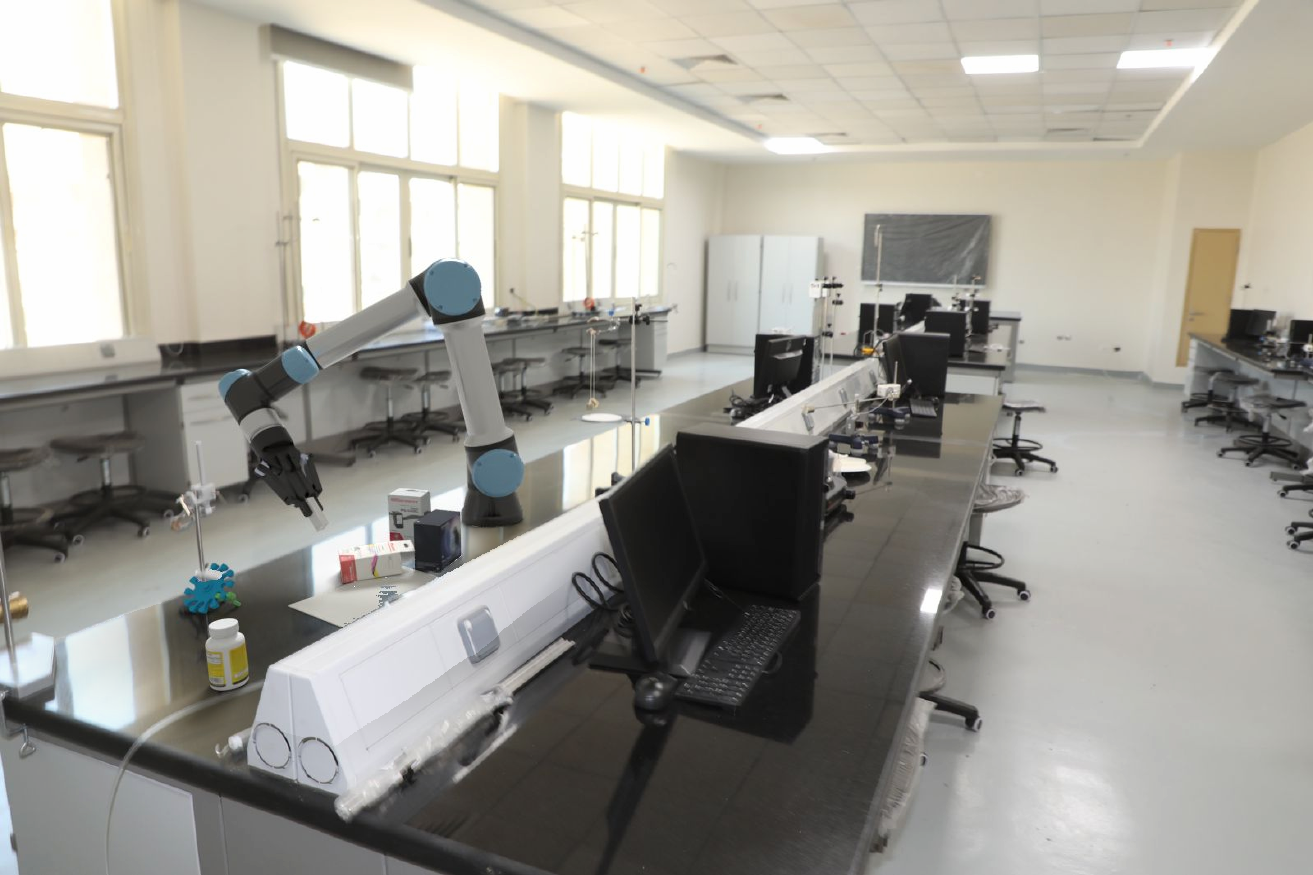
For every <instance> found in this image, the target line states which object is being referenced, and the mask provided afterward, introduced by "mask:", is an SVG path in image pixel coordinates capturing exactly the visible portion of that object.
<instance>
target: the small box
mask: <svg viewBox="0 0 1313 875" xmlns="http://www.w3.org/2000/svg"><path fill="white" fill-rule="evenodd" d="M461 523H462V521H461V511H458V510H446V509H439V508H435V509H433V510H431V512H430V513H428V514H427V515H425V516H423V517H422V518H420V519H419V520H417V521H415V522H414V523H413V527H414V545H413V546H414V549H415V551H413V552H414V570H417V571H425V572H426V571H427V572H428V571H429V572H434V573H435V572H437V573H441V572H443V571H444V570H445V569H447V568H448V567H450V566H451V565H452V564H453V563H454V562H456V561H457V560H459V559H460V558H461V557H462V556H461V555H462V554H463V553H462V524H461ZM460 556H461V557H460ZM459 557H460V558H459ZM456 559H457V560H456ZM455 560H456V561H455ZM451 563H452V564H451ZM450 564H451V565H450Z"/></svg>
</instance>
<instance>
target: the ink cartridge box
mask: <svg viewBox="0 0 1313 875" xmlns="http://www.w3.org/2000/svg"><path fill="white" fill-rule="evenodd" d="M405 545H406V546H407V547H406V546H405ZM337 551H338V560H339V565H340V566H339V568H340V570H339V571H340V575H341V583H342V584H348V583H352V582H355V581H360V580H365V579H371V578H377V577H383V576H389V575H396V574H402V566H403V565H402V556H401V553H410V552H411V553H412V552H414V551H415V549H414V545H413V544H412V542H411V540H402V541H390V540H389V541H385V542H384V541H383V542H377V543H372V544H371V543H370V544H365V545H364V544H363V545H358V546H357V545H356V546H351V547H343V548H338V549H337ZM401 565H402V566H401Z"/></svg>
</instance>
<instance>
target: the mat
mask: <svg viewBox="0 0 1313 875" xmlns="http://www.w3.org/2000/svg"><path fill="white" fill-rule="evenodd" d="M401 566H402V574H396V575H389V576H383V577H377V578H371V579H365V580H360V581H354V582H348V583H346V584H344V585H341V586H339V587H336V588H333V589H331V590H327V591H325V592H322V593H319V594H317V595H314V596H311V597H308V598H306V599H305V598H304V599H302V600H300V601H297V602H294V603H291V604H288V605H287V606H288V607H289V608H291V609H294V610H296V611H299V612H300V613H303V614H306V615H308V616H311V617H314V618H316V619H318V620H321V621H324V622H326V623H328V624H331V625H332V626H336V627H338V628H341V627H344V626H345V625H347V624H348V623H352V622H353V621H355V620H356V619H357V618H361V617H362V616H363V615H366V614H368V613H371V611H373V610H375V609H378V608H379V606H378V605H380V603H383V602H380V603H379V600H382V598H380V596H379V597H378V595H388V593H387V594H383V593H382V592H381V593H379V592H380V591H397V593H395V594H398V595H400V594H402V593H404V592H406V591H411V590H412V589H415V588H417V587H419V586H422V585H425V584H426V583H427V582H431V581H432V580H434V579H435V578H436V577H437V576H436V575H434V574H430V573H426V572H423V571H421V570H415V568H414V569H413V568H411V567H408V566H404V565H402V564H401ZM385 577H387V578H385ZM394 577H395V578H394ZM354 586H355V587H354ZM380 586H396V587H392V588H391V587H390V589H389V588H388V589H386V588H385V587H384V588H381V587H380ZM376 595H377V596H376ZM380 606H382V605H380ZM353 618H355V619H353ZM344 623H347V624H344Z"/></svg>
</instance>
